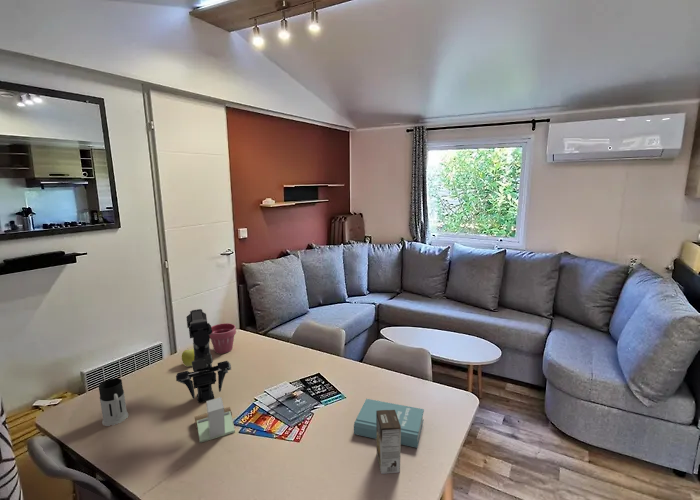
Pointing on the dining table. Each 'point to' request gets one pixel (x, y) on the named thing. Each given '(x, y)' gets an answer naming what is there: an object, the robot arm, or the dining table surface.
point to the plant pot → (223, 337)
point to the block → (215, 417)
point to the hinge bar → (206, 415)
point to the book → (406, 415)
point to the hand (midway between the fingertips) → (207, 395)
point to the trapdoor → (204, 429)
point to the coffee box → (388, 441)
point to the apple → (188, 357)
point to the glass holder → (112, 402)
